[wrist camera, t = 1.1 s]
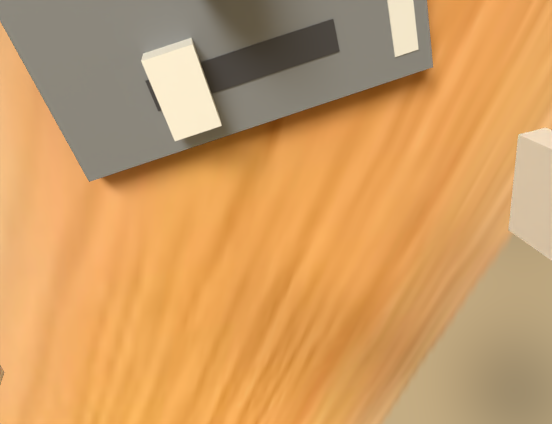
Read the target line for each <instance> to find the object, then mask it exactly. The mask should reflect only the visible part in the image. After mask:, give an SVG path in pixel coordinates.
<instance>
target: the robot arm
mask: <svg viewBox="0 0 552 424" xmlns="http://www.w3.org/2000/svg"><path fill="white" fill-rule="evenodd" d="M509 231H510V232H512V233H513V234H515V235H516V236H517V237H519V238H520V239H522V240H523V241H524V242H526V243H527V244H529V245H530V246H531V247H533V248H534V249H536V250H537V251H539V252H540V253H541V254H543V255H544V256H546V257H547V258H548V259H550V260H551V261H552V130H550V129H548V128H543V129H539V130H535V131H531V132H527V133H523V134H519V135H518V143H517V153H516V162H515V172H514V182H513V191H512V201H511V211H510V220H509ZM3 375H4V371H3V369H2V367H1V366H0V384H1V381H2V378H3Z"/></svg>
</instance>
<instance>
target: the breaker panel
mask: <svg viewBox="0 0 552 424" xmlns="http://www.w3.org/2000/svg"><path fill="white" fill-rule="evenodd" d="M0 22H1V23H2V25H3V27H4V29H5V31H6V32H7V34H8V36H9V38H10V40H11V41H12V43H13V45H14V47H15V49H16V50H17V52H18V54H19V56H20V58H21V59H22V61H23V63H24V65H25V67H26V69H27V70H28V72H29V74H30V76H31V78H32V79H33V81H34V83H35V85H36V87H37V88H38V90H39V92H40V94H41V96H42V97H43V99H44V101H45V103H46V105H47V106H48V108H49V110H50V112H51V114H52V115H53V117H54V119H55V121H56V123H57V124H58V126H59V128H60V130H61V132H62V134H63V135H64V137H65V139H66V141H67V143H68V144H69V146H70V148H71V150H72V152H73V153H74V155H75V157H76V159H77V161H78V162H79V164H80V166H81V168H82V170H83V171H84V173H85V175H86V177H87V179H88V180H89V182H90V181H93V180H96V179H99V178H102V177H105V176H108V175H111V174H114V173H117V172H120V171H123V170H126V169H129V168H132V167H135V166H138V165H141V164H144V163H147V162H150V161H153V160H156V159H159V158H162V157H165V156H168V155H171V154H174V153H177V152H180V151H183V150H186V149H189V148H192V147H195V146H198V145H201V144H204V143H207V142H210V141H213V140H216V139H219V138H222V137H225V136H228V135H231V134H234V133H237V132H240V131H243V130H246V129H249V128H252V127H255V126H258V125H261V124H264V123H267V122H270V121H273V120H276V119H279V118H282V117H285V116H288V115H291V114H294V113H297V112H300V111H303V110H306V109H309V108H312V107H315V106H318V105H321V104H324V103H327V102H330V101H333V100H336V99H339V98H342V97H345V96H348V95H351V94H354V93H357V92H360V91H363V90H366V89H369V88H372V87H375V86H378V85H381V84H384V83H387V82H390V81H393V80H396V79H399V78H402V77H405V76H408V75H411V74H414V73H417V72H420V71H423V70H426V69H429V68H432V67H433V61H432V50H431V40H430V29H429V19H428V8H427V0H0Z"/></svg>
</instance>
